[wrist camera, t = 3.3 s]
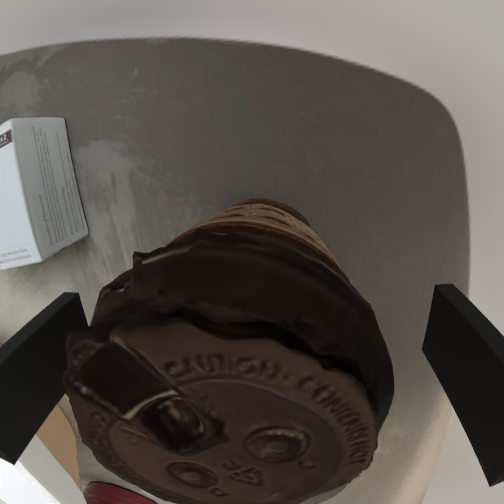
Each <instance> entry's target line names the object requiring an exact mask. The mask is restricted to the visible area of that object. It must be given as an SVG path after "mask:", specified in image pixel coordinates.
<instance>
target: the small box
mask: <svg viewBox="0 0 504 504" xmlns="http://www.w3.org/2000/svg"><path fill="white" fill-rule="evenodd" d="M88 233H89V232H88V228H87V224H86V220H85V217H84V212H83V209H82V205H81V201H80V196H79V192H78V188H77V183H76V179H75V174H74V169H73V165H72V160H71V154H70V149H69V143H68V137H67V131H66V126H65V120H64V118H60V117H36V118H13V119H10V120H8V121H6V122H4V123H3V124H1V125H0V271H2V270H7V269H11V268H16V267H21V266H26V265H30V264H35V263H39V262H43V261H44V260H46V259H47V258H49V257H50V256H52V255H54V254H55V253H57V252H58V251H60V250H63V249H64V248H66V247H67V246H69V245H71V244H72V243H74V242H76V241H77V240H79V239H81V238H83V237H85V236H86V235H88Z"/></svg>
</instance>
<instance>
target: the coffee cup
mask: <svg viewBox="0 0 504 504" xmlns="http://www.w3.org/2000/svg"><path fill="white" fill-rule="evenodd" d="M66 356H67V363H68V366H67V369H66V371H65V372H64V375H63V379H62V384H63V386H64V388H65V393H66V394H67V396H68V397H69V401H70V404H71V407H72V411H73V413H74V416H75V419H76V421H77V425H78V430H79V433H80V435H81V438H82V442H83V443H84V444H85V445H86V446H87V447H88V448H90V449H91V450H92V452H93V455H94V456H95V457H96V459H97V461H98V462H99V463H100V464H101V465H103V466H104V467H105V468H106V469H107V470H109V471H111V472H112V473H114V474H116V475H117V476H118V477H119V478H121V479H123V480H125V481H127V482H129V483H131V484H133V485H135V486H137V487H139V488H141V489H143V490H144V491H146V492H148V493H150V494H152V495H154V496H156V497H158V498H160V499H162V500H164V501H169V502H173V503H176V504H300V503H302V502H304V501H306V500H307V499H309V498H312V497H315V496H318V495H320V494H323V493H326V492H329V491H332V490H334V489H336V488H338V487H341V486H343V485H345V484H347V483H350V482H351V481H352V480H353V479H354V478H356V477H358V476H359V474H360V473H361V472H362V471H363V470H366V469H367V468H368V467H369V466H370V463H371V462H372V461H373V455H374V451H375V450H376V449H377V446H378V441H377V438H378V433H379V431H380V429H381V427H382V425H383V423H384V421H385V419H386V417H387V415H388V413H389V409H390V406H391V403H392V400H393V395H394V376H393V367H392V361H391V358H390V356H389V353H388V349H387V346H386V343H385V341H384V338H383V336H382V334H381V331H380V329H379V326H378V323H377V320H376V316H375V313H374V311H373V309H372V308H371V306H370V304H369V303H368V302H367V301H366V300H365V299H363V298H362V296H361V295H360V294H359V293H358V291H357V290H356V289H355V288H354V287H353V286H352V285H351V284H350V282H349V279H348V277H347V276H346V275H345V273H344V271H343V270H342V268H341V266H340V264H339V263H338V261H337V260H336V259H335V257H334V256H333V255H332V253H331V251H330V249H329V248H328V246H327V245H326V244H325V243H324V242H323V240H322V239H321V238H320V237H319V236H318V235H317V234H316V233H315V232H314V231H313V230H312V229H311V228H310V226H309V224H308V222H307V221H306V219H305V218H304V217H303V216H302V215H301V214H300V213H298V212H297V211H296V210H294V209H293V208H291V207H289V206H286V205H284V204H281V203H278V202H275V201H271V200H267V199H250V200H248V201H244V202H241V203H239V204H236V205H234V206H231V207H230V208H228V209H226V210H224V211H222V212H220V213H217V214H214V215H213V216H212V217H210V218H208V219H206V220H205V221H203V222H200V223H199V224H197V225H195V226H194V227H192V228H191V229H190V230H188V231H187V232H185V233H183V234H181V235H180V236H179V237H177V238H176V239H174V240H172V241H171V242H169V243H168V244H167V245H166V247H161V248H158V249H156V250H153V251H152V252H150V253H141V252H135V251H134V254H133V268H132V269H130V270H128V271H126V272H124V273H122V274H121V275H120V276H118V277H117V278H116V279H114V280H113V281H112V282H111V283H109V284H108V285H106V286H104V287H103V288H102V290H101V291H100V294H99V297H98V301H97V304H96V307H95V311H94V315H93V318H92V321H91V324H90V326H88V327H86V328H84V329H82V330H81V331H79V332H77V331H74V330H71V329H69V332H68V336H67V341H66Z"/></svg>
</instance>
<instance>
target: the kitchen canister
mask: <svg viewBox="0 0 504 504" xmlns="http://www.w3.org/2000/svg"><path fill="white" fill-rule="evenodd" d="M83 496H84V498H85V501H86V503H87V504H156V503H154V502H152V501H150V500H148V499H146V498H144V497H142V496H140V495H138V494H136V493H133V492H131V491H128V490H126V489H123V488H120V487H117V486H113V485H110V484H105V483H91V484H89V485H88V487H87V488H86V489H85V490H84V491H83Z"/></svg>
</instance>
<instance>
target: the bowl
mask: <svg viewBox="0 0 504 504" xmlns="http://www.w3.org/2000/svg"><path fill="white" fill-rule="evenodd" d="M1 346H2V345H1V344H0V347H1ZM0 499H1V500H2V501H4V502H6V503H7V504H87V503H86V501H85V498H84V496H83V494H82V491H81V483H80V476H79V468H78V459H77V449H76V436H75V434H74V431H73V429H72V427H71V425H70V422H69V421H68V419H67V418H66V416H65V415H64V413H63V412H62V410H61V408H60V407H59V405H58V403H57V405H56V406H55V408H54V409H53V410H52V412H51V413H50V414H49V416H48V417H47V419H46V420H45V421H44V423H43V424H42V426H41V427H40V429H39V430H38V431H37V433H36V434H35V436H34V437H33V439H32V440H31V441H30V443H29V444H28V446H27V447H26V449H25V450H24V452H23V453H22V455H21V456H20V458H19V459H18V461H17V462H16V464H15V465H12V464H11V463H9V462H7V461H5V460H3V459H1V458H0Z"/></svg>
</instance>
